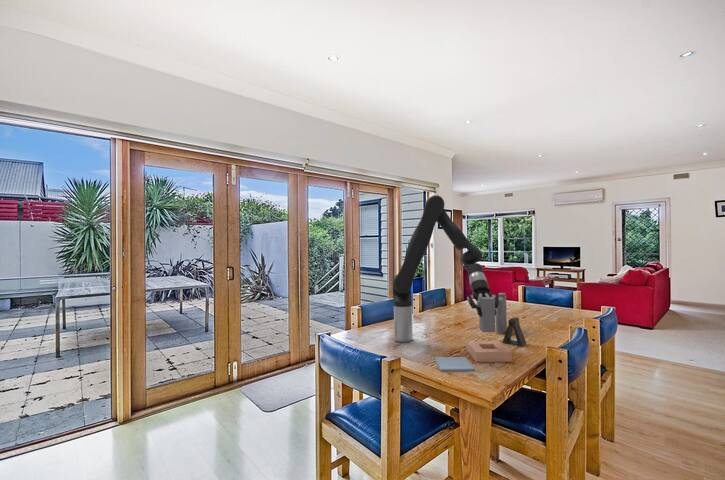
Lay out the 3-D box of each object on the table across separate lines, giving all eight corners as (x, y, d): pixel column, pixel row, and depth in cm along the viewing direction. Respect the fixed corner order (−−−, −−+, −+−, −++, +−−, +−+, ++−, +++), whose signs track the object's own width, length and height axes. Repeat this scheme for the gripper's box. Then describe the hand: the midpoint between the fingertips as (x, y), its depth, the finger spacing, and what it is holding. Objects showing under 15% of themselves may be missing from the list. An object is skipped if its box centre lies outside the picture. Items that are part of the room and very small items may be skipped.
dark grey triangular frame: (526, 343, 163) (525, 318, 163) (522, 346, 158) (521, 320, 158) (506, 339, 169) (506, 315, 169) (502, 342, 164) (501, 317, 164)
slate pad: (440, 371, 131) (440, 369, 131) (434, 359, 144) (434, 357, 144) (475, 370, 131) (474, 368, 131) (465, 358, 144) (465, 356, 144)
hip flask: (501, 326, 194) (500, 290, 194) (508, 327, 192) (507, 291, 192) (495, 333, 181) (494, 295, 181) (503, 334, 179) (503, 295, 179)
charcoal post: (483, 332, 145) (482, 299, 145) (479, 329, 150) (479, 297, 150) (495, 332, 145) (494, 299, 145) (491, 329, 150) (490, 296, 150)
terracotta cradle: (476, 361, 140) (476, 352, 140) (466, 350, 155) (466, 341, 155) (511, 361, 140) (511, 351, 140) (498, 349, 154) (498, 341, 154)
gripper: (464, 278, 156) (472, 311, 144) (496, 278, 155) (507, 310, 143) (461, 288, 161) (469, 320, 149) (492, 288, 161) (502, 320, 149)
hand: (487, 315), depth 146 cm, fingers closed on charcoal post, 5 cm apart
